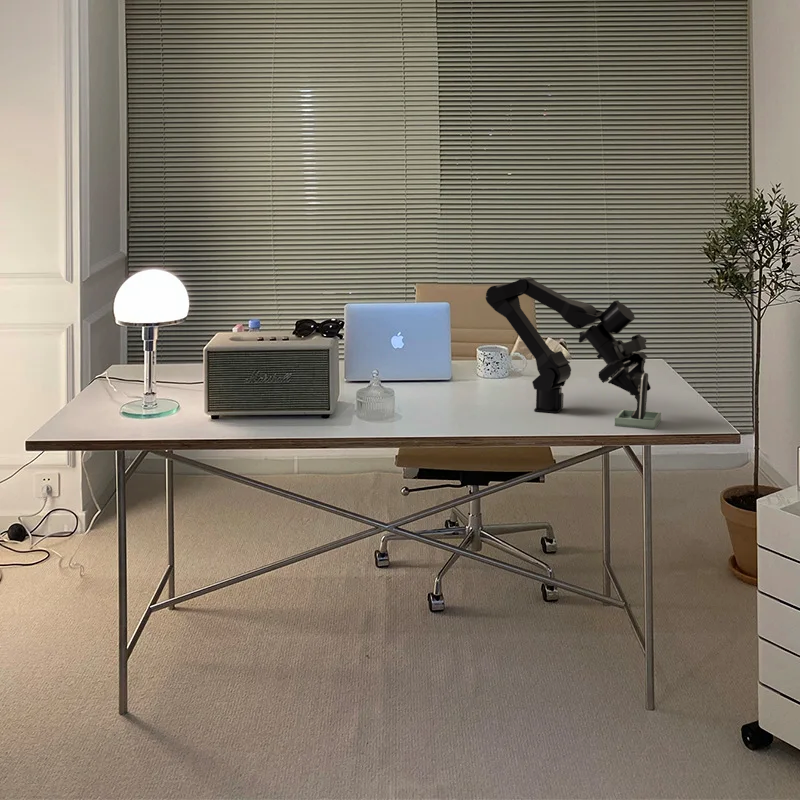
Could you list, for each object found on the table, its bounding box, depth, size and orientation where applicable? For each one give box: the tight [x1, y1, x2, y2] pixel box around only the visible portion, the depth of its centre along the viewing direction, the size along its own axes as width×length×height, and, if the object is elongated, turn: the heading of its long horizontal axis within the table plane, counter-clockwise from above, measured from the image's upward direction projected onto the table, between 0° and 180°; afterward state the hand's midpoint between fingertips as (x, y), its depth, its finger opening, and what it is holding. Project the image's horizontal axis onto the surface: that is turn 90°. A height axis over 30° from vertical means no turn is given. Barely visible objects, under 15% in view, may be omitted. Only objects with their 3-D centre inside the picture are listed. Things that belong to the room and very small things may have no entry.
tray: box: [614, 409, 662, 430], centre depth 269 cm, size 10×10×2 cm
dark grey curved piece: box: [629, 372, 649, 419], centre depth 267 cm, size 7×4×11 cm, turn 161°
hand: (643, 392), depth 266 cm, fingers closed on dark grey curved piece, 7 cm apart
